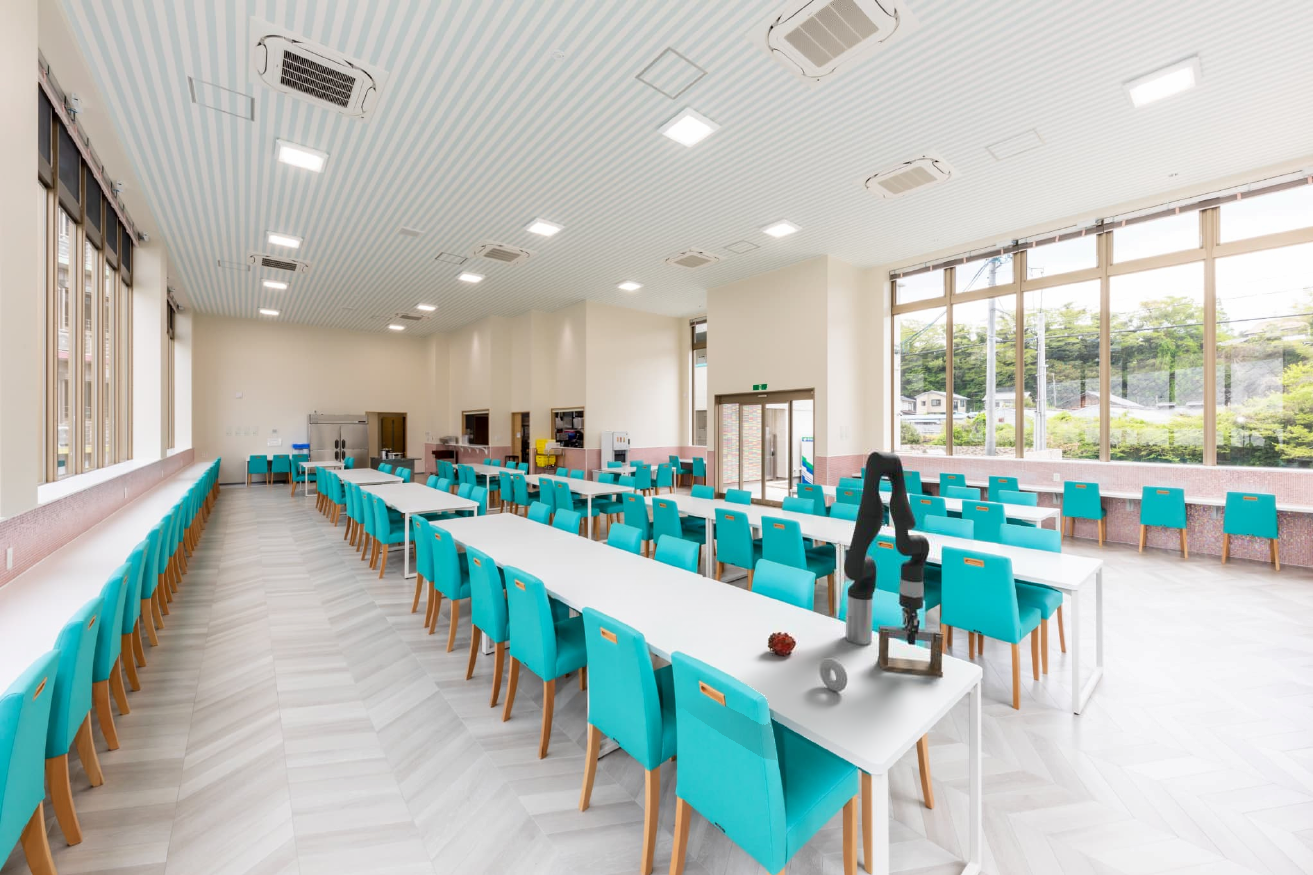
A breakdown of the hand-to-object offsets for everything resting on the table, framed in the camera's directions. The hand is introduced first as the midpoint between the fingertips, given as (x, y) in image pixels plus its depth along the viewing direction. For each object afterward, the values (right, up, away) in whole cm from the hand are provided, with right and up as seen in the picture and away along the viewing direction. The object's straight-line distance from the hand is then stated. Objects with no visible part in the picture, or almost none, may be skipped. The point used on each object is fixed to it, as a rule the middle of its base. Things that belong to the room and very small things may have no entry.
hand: (909, 642), depth 186 cm
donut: (-32, -9, -17) cm, 37 cm away
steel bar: (0, +1, 0) cm, 1 cm away
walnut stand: (0, -9, 0) cm, 9 cm away
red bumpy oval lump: (-42, -8, +11) cm, 44 cm away
